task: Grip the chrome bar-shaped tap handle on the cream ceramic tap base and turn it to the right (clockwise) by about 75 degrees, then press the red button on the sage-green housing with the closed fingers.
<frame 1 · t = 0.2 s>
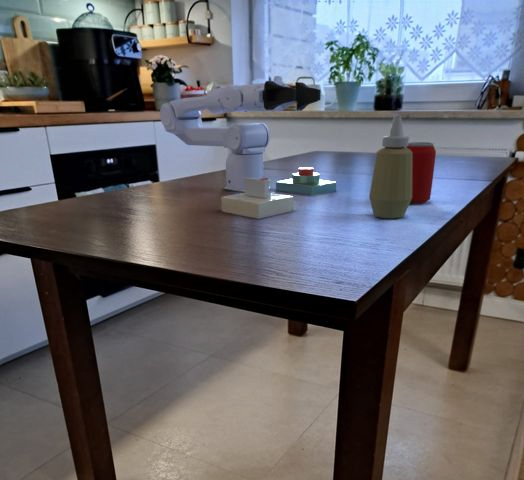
hand: (307, 94, 109), 22 cm above the table, tool horizontal, fingers open, 7 cm apart
squeeze bottle: (388, 217, 101), on the table
button: (306, 171, 127), point 4 cm above the table, slide at 0.1 cm
beverage can: (413, 202, 113), on the table
tap base: (257, 211, 107), on the table
button box: (305, 190, 129), on the table
tap: (256, 186, 105), point 5 cm above the table, hinge at 0.0°
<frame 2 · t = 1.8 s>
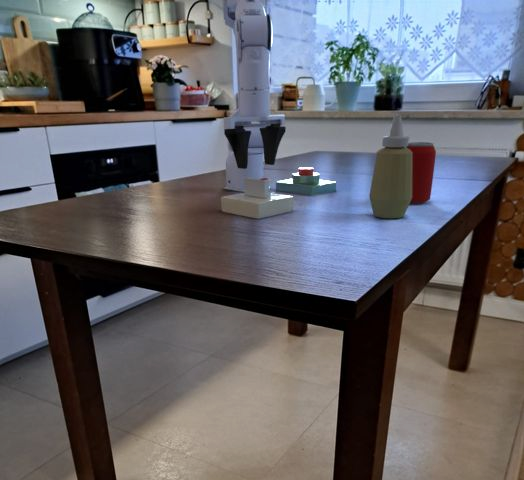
hand: (256, 166, 103), 9 cm above the table, tool pointing down, fingers open, 7 cm apart
nothing on the table moved.
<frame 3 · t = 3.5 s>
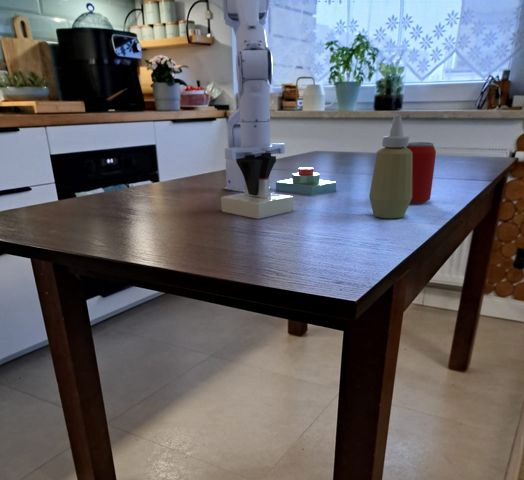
hand: (256, 194, 106), 4 cm above the table, tool pointing down, fingers closed on tap
tap: (256, 186, 105), point 5 cm above the table, hinge at 0.1°, touching gripper
everything else where it was.
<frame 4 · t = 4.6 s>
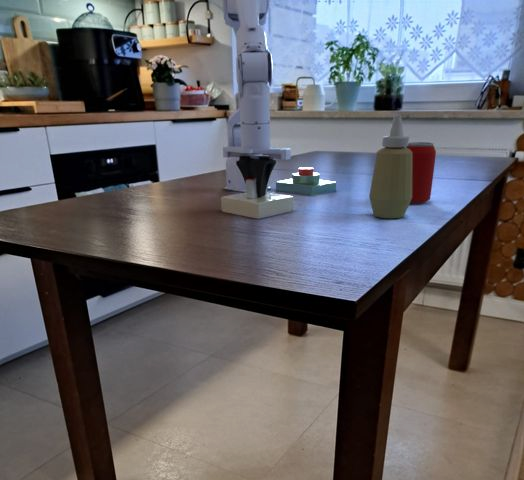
hand: (256, 195, 106), 3 cm above the table, tool pointing down, fingers closed
tap: (256, 186, 105), point 5 cm above the table, hinge at -75.1°
everything else where it was.
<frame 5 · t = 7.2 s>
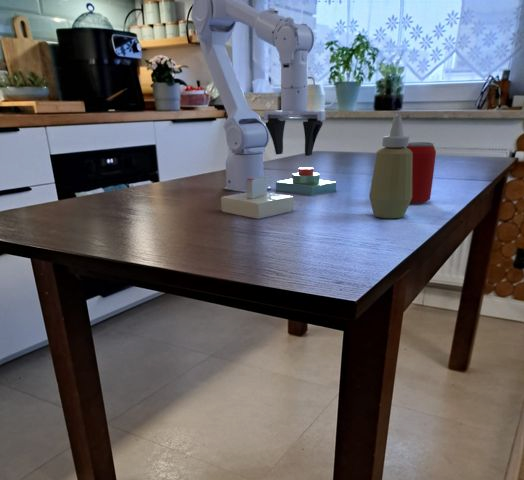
hand: (293, 154, 119), 9 cm above the table, tool pointing down, fingers open, 7 cm apart
nothing on the table moved.
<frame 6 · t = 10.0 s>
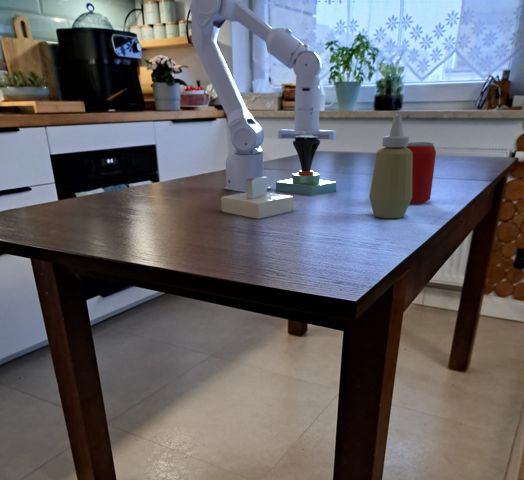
hand: (306, 170, 127), 5 cm above the table, tool pointing down, fingers closed, pressing on button
button: (305, 174, 127), point 4 cm above the table, slide at -0.5 cm, touching gripper
everything else where it was.
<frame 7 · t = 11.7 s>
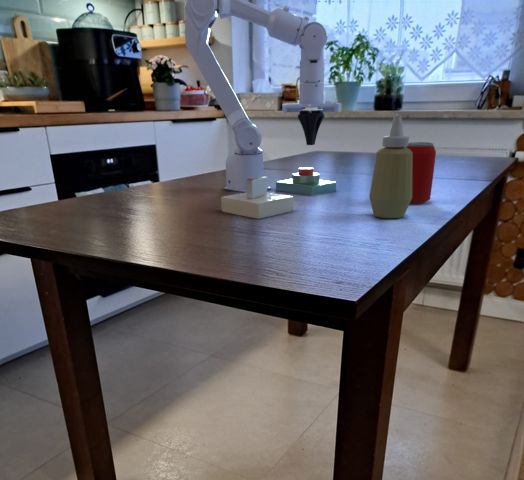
hand: (310, 144, 127), 10 cm above the table, tool pointing down, fingers closed
button: (306, 171, 127), point 5 cm above the table, slide at 0.1 cm
everything else where it was.
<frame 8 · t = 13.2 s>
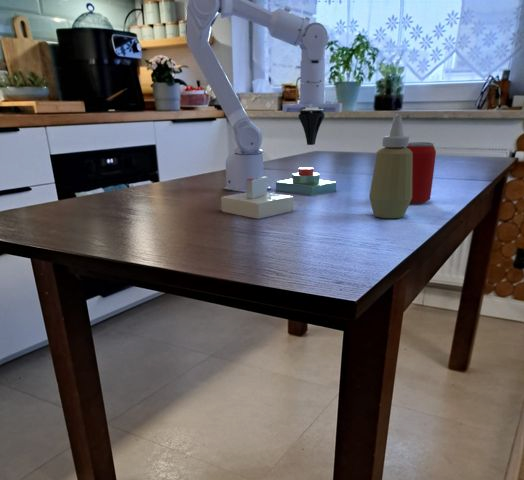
hand: (311, 144, 128), 10 cm above the table, tool pointing down, fingers closed
nothing on the table moved.
at the end: tap at -75° (first picture: +0°); button pushed in 1.2 cm at the most during the clip, back to where it started at the end; button slide at 0.1 cm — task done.
